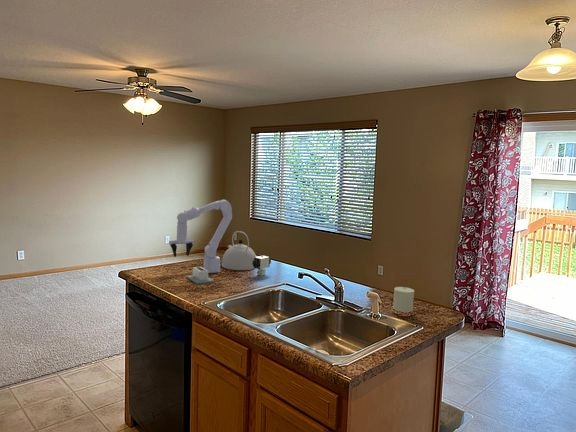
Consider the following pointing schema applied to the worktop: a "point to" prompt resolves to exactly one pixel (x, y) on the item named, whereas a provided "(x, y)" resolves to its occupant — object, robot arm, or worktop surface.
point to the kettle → (238, 256)
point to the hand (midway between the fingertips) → (181, 256)
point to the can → (403, 299)
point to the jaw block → (200, 273)
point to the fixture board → (200, 280)
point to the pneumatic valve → (261, 264)
